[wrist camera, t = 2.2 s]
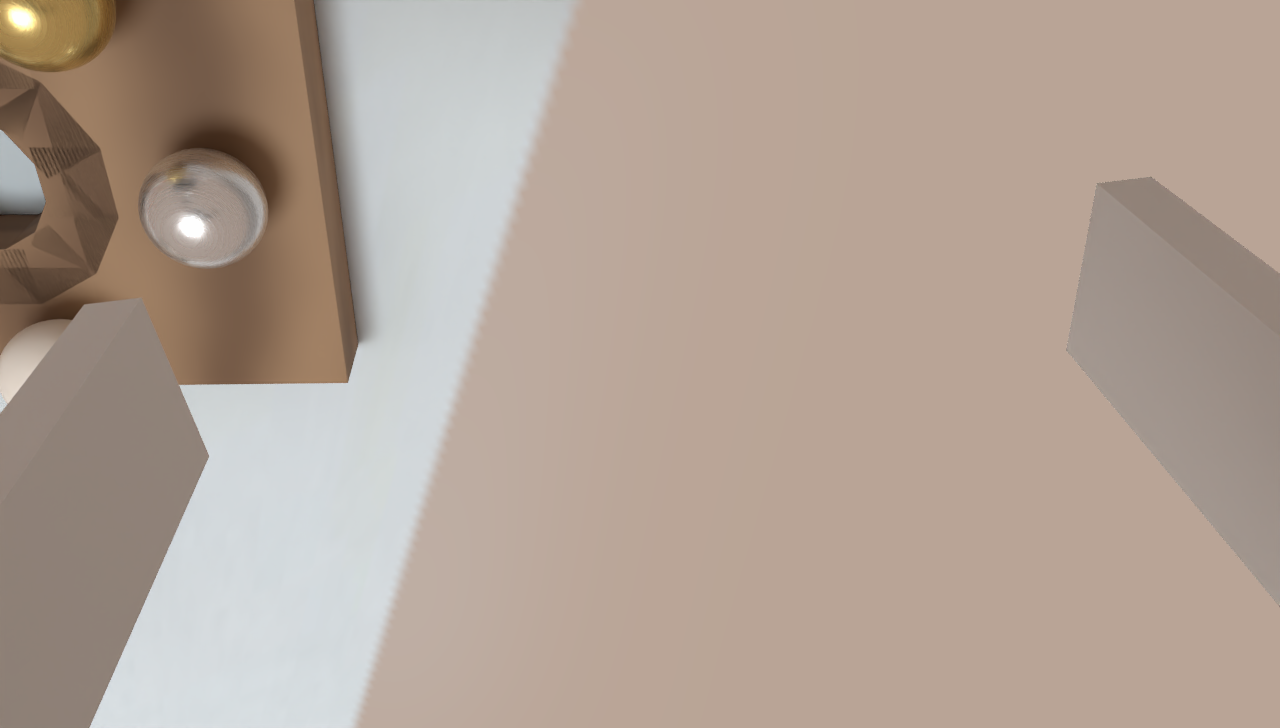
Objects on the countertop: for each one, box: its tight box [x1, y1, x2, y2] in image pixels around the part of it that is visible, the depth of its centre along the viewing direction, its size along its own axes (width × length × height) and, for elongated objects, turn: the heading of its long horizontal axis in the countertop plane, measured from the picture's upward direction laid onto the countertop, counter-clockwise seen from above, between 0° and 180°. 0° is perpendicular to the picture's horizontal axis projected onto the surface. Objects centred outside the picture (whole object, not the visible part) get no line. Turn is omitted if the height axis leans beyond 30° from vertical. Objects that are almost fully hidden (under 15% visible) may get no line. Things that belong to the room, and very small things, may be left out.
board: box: [0, 0, 358, 385], centre depth 31 cm, size 15×15×2 cm
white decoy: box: [0, 319, 72, 404], centre depth 32 cm, size 4×4×4 cm
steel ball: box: [138, 148, 268, 269], centre depth 29 cm, size 4×4×4 cm
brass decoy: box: [0, 0, 117, 73], centre depth 25 cm, size 4×4×4 cm
